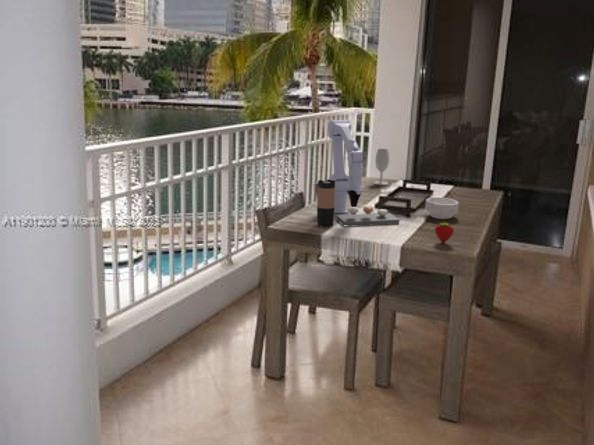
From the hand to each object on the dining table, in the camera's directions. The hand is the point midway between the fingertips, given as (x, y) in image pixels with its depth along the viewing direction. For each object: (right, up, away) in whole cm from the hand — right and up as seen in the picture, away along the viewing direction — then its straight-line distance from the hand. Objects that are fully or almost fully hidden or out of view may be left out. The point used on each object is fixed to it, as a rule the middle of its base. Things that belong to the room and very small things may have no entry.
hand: (353, 206), depth 264 cm
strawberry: (+34, -16, -26) cm, 46 cm away
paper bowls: (+43, -5, +14) cm, 46 cm away
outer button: (+14, -4, +4) cm, 15 cm away
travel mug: (-13, -9, -4) cm, 16 cm away
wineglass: (+25, +16, +85) cm, 90 cm away
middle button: (+7, -3, +2) cm, 8 cm away
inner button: (0, -3, +1) cm, 3 cm away
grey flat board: (+7, -7, +3) cm, 10 cm away
